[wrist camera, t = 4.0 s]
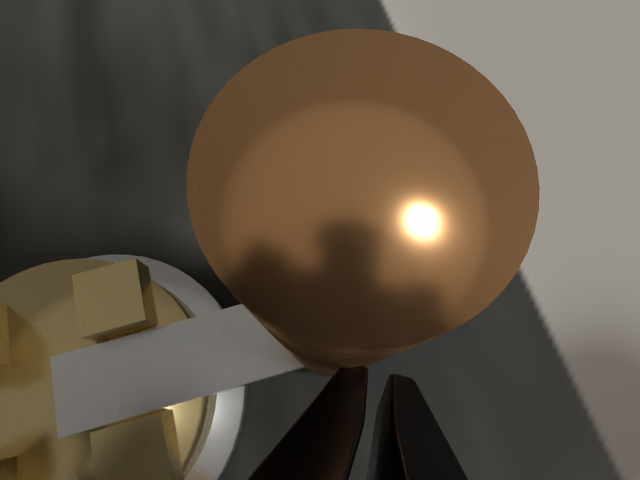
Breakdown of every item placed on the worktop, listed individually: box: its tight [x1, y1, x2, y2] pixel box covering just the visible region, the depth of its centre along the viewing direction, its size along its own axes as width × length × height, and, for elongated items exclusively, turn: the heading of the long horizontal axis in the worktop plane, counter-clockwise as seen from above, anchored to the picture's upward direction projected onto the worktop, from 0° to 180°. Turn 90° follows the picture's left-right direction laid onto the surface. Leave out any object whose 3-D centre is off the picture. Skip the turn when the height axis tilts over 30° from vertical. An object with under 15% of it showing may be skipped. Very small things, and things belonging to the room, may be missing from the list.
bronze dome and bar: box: [0, 29, 539, 480], centre depth 9 cm, size 14×8×12 cm, turn 106°
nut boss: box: [85, 254, 248, 480], centre depth 15 cm, size 10×10×1 cm
